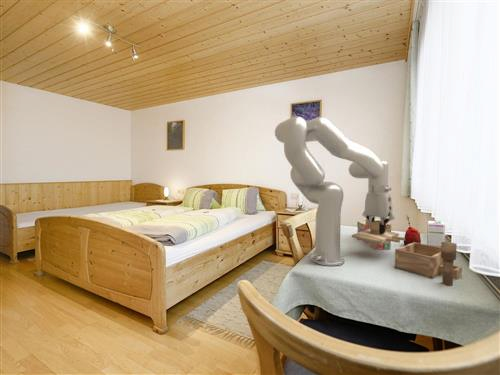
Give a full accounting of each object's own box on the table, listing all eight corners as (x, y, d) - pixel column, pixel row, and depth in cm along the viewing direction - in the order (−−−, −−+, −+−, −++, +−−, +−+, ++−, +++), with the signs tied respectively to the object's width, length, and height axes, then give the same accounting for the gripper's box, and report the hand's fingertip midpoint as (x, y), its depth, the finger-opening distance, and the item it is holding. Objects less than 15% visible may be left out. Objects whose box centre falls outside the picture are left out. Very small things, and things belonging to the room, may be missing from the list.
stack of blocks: (356, 238, 138) (357, 215, 138) (368, 238, 138) (368, 215, 138) (377, 250, 117) (378, 223, 116) (391, 250, 117) (391, 223, 116)
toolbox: (451, 283, 81) (451, 262, 81) (394, 268, 95) (395, 249, 94) (466, 272, 91) (467, 252, 90) (413, 259, 104) (413, 242, 104)
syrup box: (444, 259, 104) (446, 224, 103) (427, 257, 107) (428, 222, 106) (443, 255, 108) (444, 221, 108) (426, 253, 112) (427, 220, 111)
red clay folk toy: (422, 249, 117) (423, 217, 116) (404, 248, 120) (405, 216, 119) (418, 245, 124) (419, 214, 123) (402, 243, 127) (403, 213, 126)
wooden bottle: (452, 287, 78) (454, 245, 78) (438, 283, 81) (439, 243, 81) (456, 284, 81) (458, 243, 80) (442, 280, 84) (443, 241, 83)
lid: (392, 248, 96) (392, 230, 95) (351, 239, 109) (351, 223, 109) (410, 240, 105) (411, 223, 105) (371, 232, 119) (371, 217, 118)
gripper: (402, 190, 104) (402, 234, 106) (364, 188, 118) (364, 228, 119) (394, 191, 100) (393, 237, 101) (355, 189, 113) (355, 230, 114)
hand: (377, 232), depth 110 cm, fingers closed on lid, 3 cm apart
